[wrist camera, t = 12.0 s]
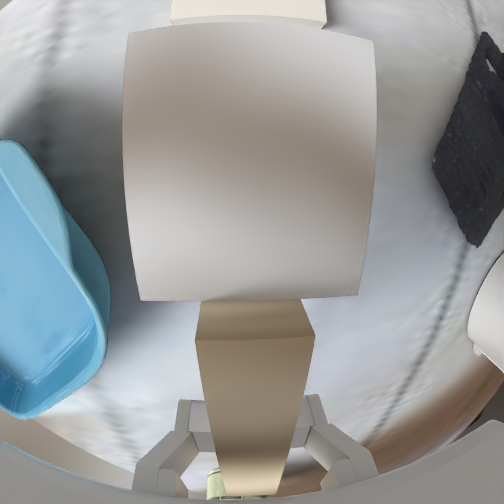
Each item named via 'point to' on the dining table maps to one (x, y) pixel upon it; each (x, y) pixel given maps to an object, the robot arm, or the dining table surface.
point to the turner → (249, 208)
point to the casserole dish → (45, 292)
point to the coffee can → (223, 488)
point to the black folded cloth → (476, 146)
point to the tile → (250, 12)
